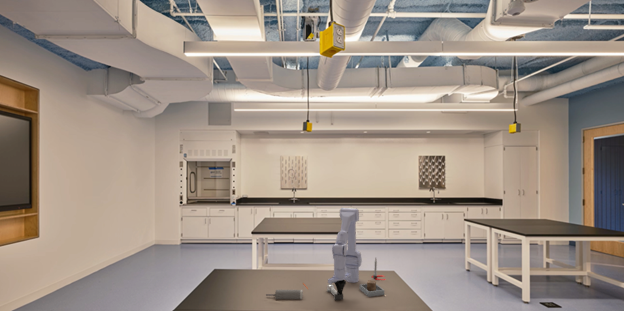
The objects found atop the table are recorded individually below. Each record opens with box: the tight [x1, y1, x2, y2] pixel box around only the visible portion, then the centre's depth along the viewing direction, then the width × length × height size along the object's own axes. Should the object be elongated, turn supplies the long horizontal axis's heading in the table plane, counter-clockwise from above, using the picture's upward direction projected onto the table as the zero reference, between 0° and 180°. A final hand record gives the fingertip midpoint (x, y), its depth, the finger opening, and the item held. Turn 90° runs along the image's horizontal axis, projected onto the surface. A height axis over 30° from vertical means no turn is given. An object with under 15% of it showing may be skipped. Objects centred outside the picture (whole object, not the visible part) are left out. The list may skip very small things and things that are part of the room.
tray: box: [359, 283, 385, 297], centre depth 180 cm, size 11×9×2 cm
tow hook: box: [371, 257, 387, 281], centre depth 203 cm, size 8×13×9 cm
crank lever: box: [326, 283, 344, 301], centre depth 176 cm, size 15×4×3 cm, turn 16°
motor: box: [265, 282, 309, 300], centre depth 182 cm, size 23×22×5 cm
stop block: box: [366, 279, 377, 291], centre depth 180 cm, size 4×4×5 cm
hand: (339, 294), depth 173 cm, fingers closed
